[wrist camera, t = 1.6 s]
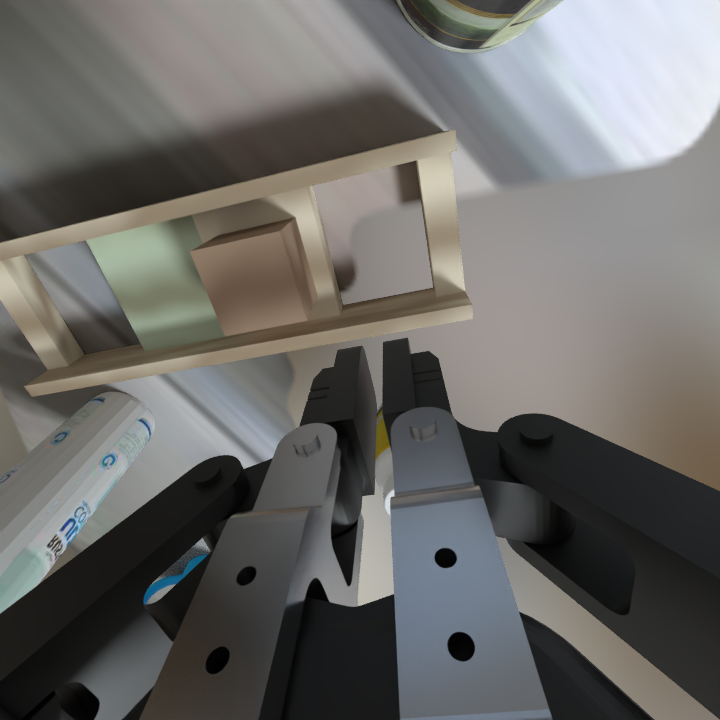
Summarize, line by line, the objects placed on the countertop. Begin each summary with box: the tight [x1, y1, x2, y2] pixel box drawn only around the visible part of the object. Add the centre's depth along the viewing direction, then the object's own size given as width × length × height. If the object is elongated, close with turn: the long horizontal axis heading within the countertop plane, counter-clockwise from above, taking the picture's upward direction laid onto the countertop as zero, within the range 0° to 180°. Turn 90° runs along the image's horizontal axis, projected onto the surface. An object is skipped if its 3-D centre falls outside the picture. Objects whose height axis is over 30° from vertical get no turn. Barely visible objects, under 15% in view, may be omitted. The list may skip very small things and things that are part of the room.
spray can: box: [0, 392, 155, 613], centre depth 29 cm, size 6×6×20 cm
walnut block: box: [190, 217, 318, 336], centre depth 26 cm, size 6×6×4 cm
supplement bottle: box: [375, 405, 395, 516], centre depth 32 cm, size 5×5×10 cm
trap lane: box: [0, 130, 473, 397], centre depth 28 cm, size 11×34×4 cm, turn 103°
